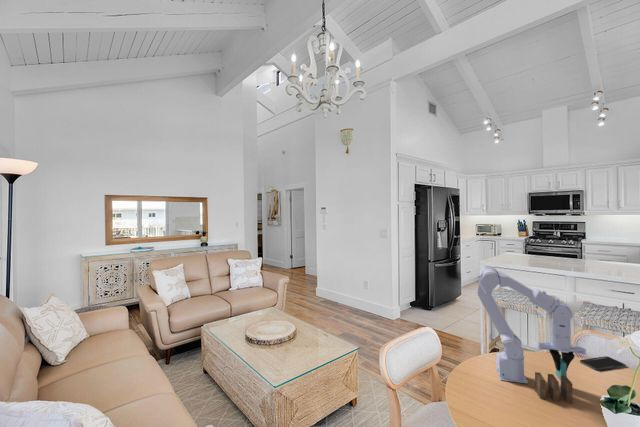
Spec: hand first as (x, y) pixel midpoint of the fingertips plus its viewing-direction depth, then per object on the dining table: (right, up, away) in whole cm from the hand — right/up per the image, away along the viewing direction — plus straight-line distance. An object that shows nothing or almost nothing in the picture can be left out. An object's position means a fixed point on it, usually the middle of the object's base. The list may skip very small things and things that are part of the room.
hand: (561, 369), depth 114 cm
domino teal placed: (0, -3, 0) cm, 3 cm away
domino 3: (-3, -7, -6) cm, 10 cm away
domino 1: (-10, -7, -3) cm, 13 cm away
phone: (+29, -6, +15) cm, 33 cm away
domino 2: (-7, -7, -5) cm, 11 cm away
